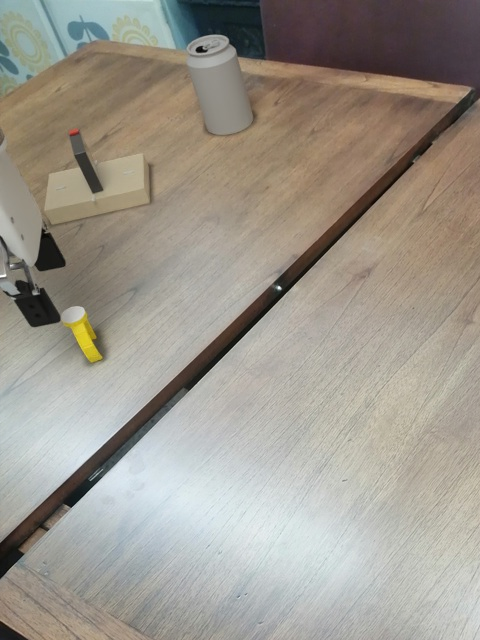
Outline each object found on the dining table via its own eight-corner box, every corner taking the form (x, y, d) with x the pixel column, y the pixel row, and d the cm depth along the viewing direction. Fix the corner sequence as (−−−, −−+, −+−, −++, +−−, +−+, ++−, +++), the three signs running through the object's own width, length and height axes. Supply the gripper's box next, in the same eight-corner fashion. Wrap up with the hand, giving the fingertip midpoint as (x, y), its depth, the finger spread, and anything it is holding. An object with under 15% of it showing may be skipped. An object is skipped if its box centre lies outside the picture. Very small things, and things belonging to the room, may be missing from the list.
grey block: (103, 190, 96) (84, 149, 91) (92, 193, 96) (72, 153, 91) (97, 167, 100) (78, 126, 95) (86, 170, 100) (67, 130, 95)
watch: (80, 343, 82) (55, 302, 77) (103, 335, 83) (79, 294, 78) (89, 374, 79) (64, 333, 74) (113, 365, 79) (89, 324, 75)
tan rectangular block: (54, 232, 97) (42, 211, 94) (59, 191, 104) (48, 170, 101) (152, 210, 97) (143, 189, 95) (151, 170, 104) (142, 149, 101)
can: (204, 124, 110) (177, 40, 100) (248, 111, 111) (226, 26, 101) (213, 145, 106) (186, 59, 96) (260, 131, 107) (238, 44, 97)
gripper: (-70, 100, 66) (23, 255, 80) (-105, 197, 56) (7, 354, 70) (8, 85, 67) (87, 242, 81) (-13, 179, 57) (80, 339, 71)
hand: (50, 294), depth 76 cm, fingers open, 9 cm apart
